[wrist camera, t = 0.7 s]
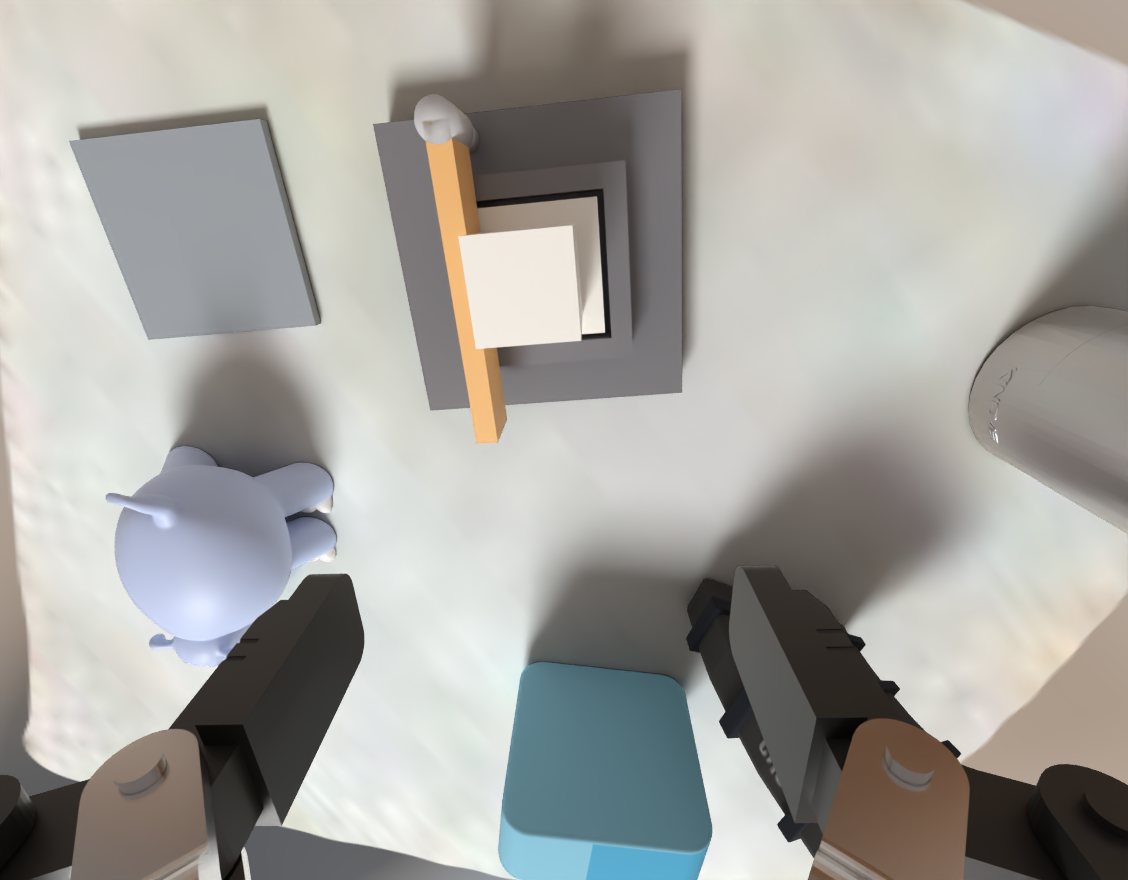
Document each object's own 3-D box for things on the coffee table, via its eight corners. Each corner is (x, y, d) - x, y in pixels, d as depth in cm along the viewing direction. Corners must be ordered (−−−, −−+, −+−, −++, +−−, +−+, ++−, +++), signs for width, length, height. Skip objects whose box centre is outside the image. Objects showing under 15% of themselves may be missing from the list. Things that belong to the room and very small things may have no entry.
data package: (519, 701, 41) (493, 879, 30) (523, 657, 39) (497, 830, 28) (671, 717, 41) (702, 902, 30) (682, 675, 39) (719, 854, 28)
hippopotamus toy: (195, 599, 38) (79, 713, 30) (160, 409, 33) (3, 480, 24) (341, 619, 39) (268, 738, 30) (333, 434, 33) (239, 513, 24)
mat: (266, 120, 26) (259, 118, 25) (320, 323, 30) (315, 325, 29) (79, 142, 27) (69, 141, 26) (156, 337, 31) (148, 339, 30)
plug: (596, 198, 25) (599, 190, 18) (604, 324, 27) (609, 364, 20) (472, 210, 25) (424, 207, 18) (490, 333, 28) (454, 376, 20)
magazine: (666, 571, 34) (853, 823, 22) (798, 574, 40) (999, 769, 28) (642, 614, 35) (806, 872, 23) (774, 610, 41) (955, 810, 30)
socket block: (674, 98, 25) (689, 77, 21) (676, 381, 30) (689, 405, 27) (388, 130, 26) (354, 116, 22) (439, 399, 31) (419, 424, 28)
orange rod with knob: (470, 107, 22) (452, 91, 19) (512, 418, 27) (504, 441, 24) (432, 111, 22) (409, 96, 19) (482, 420, 27) (470, 444, 24)
